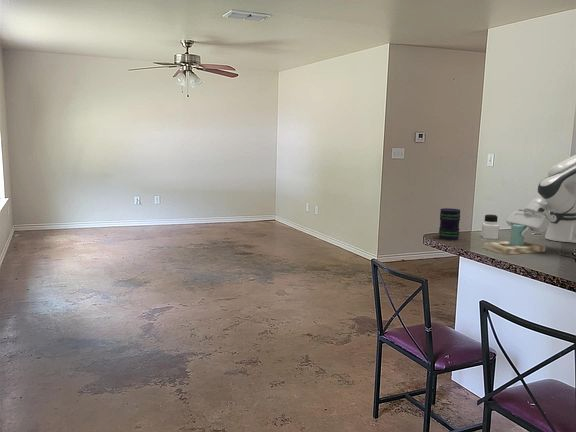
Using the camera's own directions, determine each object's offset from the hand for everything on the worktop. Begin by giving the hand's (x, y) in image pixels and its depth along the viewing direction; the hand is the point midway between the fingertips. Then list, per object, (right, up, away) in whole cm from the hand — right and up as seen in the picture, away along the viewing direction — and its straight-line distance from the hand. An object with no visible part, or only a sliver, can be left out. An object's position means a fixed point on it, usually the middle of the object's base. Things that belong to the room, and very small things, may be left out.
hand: (516, 234), depth 227 cm
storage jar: (-22, -3, +27) cm, 35 cm away
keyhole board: (-1, -7, +1) cm, 7 cm away
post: (+1, -6, +1) cm, 6 cm away
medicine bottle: (0, -3, +30) cm, 30 cm away
